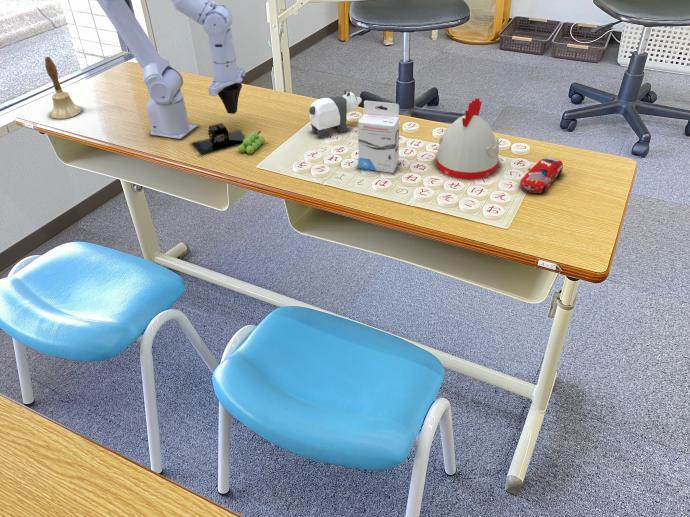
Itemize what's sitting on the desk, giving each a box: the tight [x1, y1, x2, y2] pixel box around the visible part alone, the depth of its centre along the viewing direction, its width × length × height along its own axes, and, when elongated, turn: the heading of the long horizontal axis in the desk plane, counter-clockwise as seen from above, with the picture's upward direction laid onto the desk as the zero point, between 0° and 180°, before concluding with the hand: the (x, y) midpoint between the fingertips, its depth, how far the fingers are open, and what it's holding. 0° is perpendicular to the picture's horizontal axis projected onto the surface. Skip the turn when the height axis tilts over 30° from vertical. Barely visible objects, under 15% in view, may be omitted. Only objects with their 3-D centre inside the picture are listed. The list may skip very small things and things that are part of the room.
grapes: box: [237, 130, 265, 155], centre depth 146 cm, size 4×9×3 cm, turn 159°
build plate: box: [191, 122, 246, 156], centre depth 148 cm, size 12×7×5 cm, turn 120°
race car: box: [519, 156, 564, 194], centre depth 127 cm, size 13×5×4 cm, turn 139°
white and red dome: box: [435, 98, 500, 180], centre depth 131 cm, size 14×14×15 cm
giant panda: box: [308, 89, 363, 139], centre depth 150 cm, size 15×6×10 cm, turn 119°
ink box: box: [357, 100, 401, 174], centre depth 132 cm, size 8×5×15 cm, turn 72°
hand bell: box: [44, 56, 82, 120], centre depth 163 cm, size 8×8×16 cm
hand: (232, 112), depth 151 cm, fingers closed
